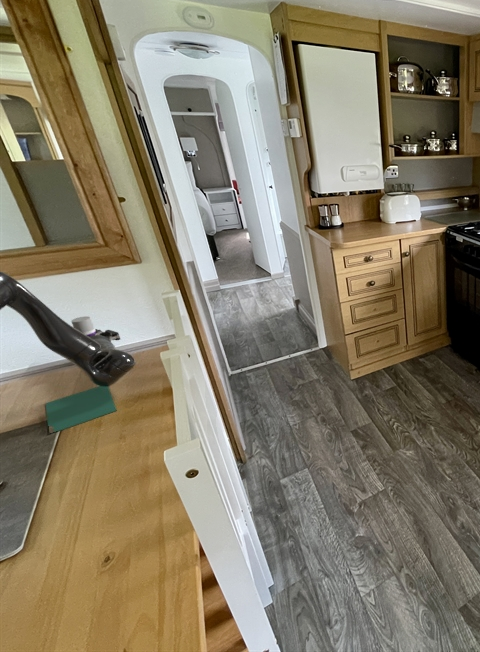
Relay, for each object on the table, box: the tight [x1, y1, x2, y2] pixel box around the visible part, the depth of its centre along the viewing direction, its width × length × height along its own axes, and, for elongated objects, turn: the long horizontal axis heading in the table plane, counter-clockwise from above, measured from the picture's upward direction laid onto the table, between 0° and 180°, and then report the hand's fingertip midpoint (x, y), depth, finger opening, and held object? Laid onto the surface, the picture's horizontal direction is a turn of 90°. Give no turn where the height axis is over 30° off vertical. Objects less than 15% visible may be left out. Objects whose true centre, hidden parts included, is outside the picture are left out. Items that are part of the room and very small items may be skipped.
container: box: [71, 315, 96, 336], centre depth 126 cm, size 5×5×15 cm
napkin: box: [45, 386, 117, 433], centre depth 105 cm, size 18×13×1 cm
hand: (85, 334), depth 127 cm, fingers closed on container, 4 cm apart
